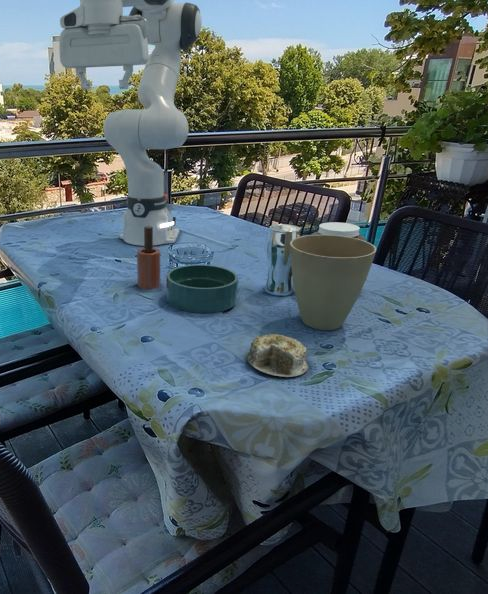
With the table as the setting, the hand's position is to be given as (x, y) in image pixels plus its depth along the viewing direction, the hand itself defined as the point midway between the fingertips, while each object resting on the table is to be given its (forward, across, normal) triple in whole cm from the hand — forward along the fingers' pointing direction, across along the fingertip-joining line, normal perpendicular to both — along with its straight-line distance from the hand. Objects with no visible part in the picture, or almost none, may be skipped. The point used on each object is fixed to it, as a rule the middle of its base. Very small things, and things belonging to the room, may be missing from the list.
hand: (104, 89), depth 103 cm
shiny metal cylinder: (+44, -41, -3) cm, 60 cm away
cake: (+44, -46, +30) cm, 70 cm away
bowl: (+44, -26, +9) cm, 52 cm away
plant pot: (+44, -52, +11) cm, 68 cm away
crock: (+44, -12, +5) cm, 46 cm away
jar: (+44, -52, -8) cm, 69 cm away
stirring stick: (+43, -12, +5) cm, 45 cm away
